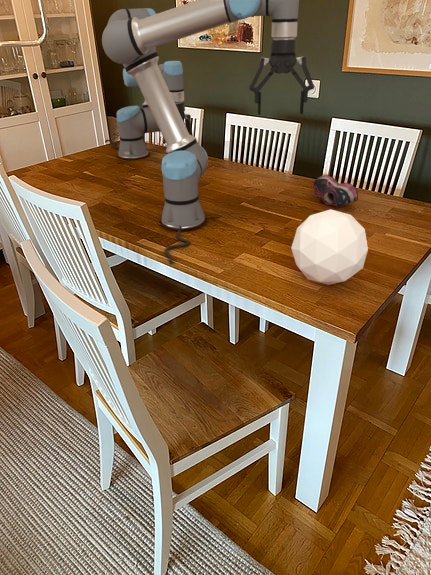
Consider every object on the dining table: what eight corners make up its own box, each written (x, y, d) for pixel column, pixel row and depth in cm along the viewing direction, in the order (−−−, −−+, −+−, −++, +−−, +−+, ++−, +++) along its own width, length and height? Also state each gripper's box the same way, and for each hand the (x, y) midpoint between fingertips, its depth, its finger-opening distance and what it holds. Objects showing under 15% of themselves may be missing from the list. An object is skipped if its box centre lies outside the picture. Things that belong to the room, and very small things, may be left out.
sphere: (335, 308, 121) (353, 282, 102) (274, 269, 126) (281, 237, 107) (370, 256, 126) (393, 222, 107) (310, 220, 131) (322, 182, 112)
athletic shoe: (322, 174, 175) (297, 182, 171) (360, 169, 156) (333, 177, 152) (327, 202, 178) (303, 210, 174) (365, 200, 158) (339, 209, 155)
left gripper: (161, 106, 179) (166, 163, 191) (199, 99, 190) (202, 153, 202) (150, 104, 184) (156, 159, 196) (188, 97, 195) (191, 150, 207)
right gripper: (324, 36, 134) (317, 110, 146) (242, 39, 136) (241, 111, 147) (328, 38, 128) (320, 115, 140) (242, 40, 130) (241, 116, 141)
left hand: (179, 156), depth 199 cm, fingers closed on canister, 7 cm apart
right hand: (280, 113), depth 143 cm, fingers open, 13 cm apart
